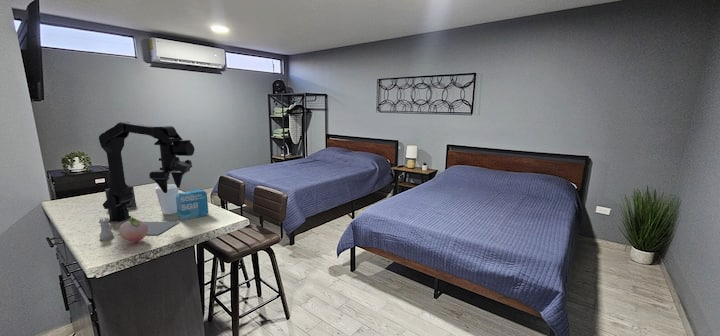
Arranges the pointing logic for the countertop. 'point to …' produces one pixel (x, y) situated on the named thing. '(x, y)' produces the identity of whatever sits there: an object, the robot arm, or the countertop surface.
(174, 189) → the foam cup
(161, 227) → the mat
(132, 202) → the small box
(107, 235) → the rook chess piece
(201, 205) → the data package
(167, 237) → the countertop surface
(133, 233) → the decorative fruit
